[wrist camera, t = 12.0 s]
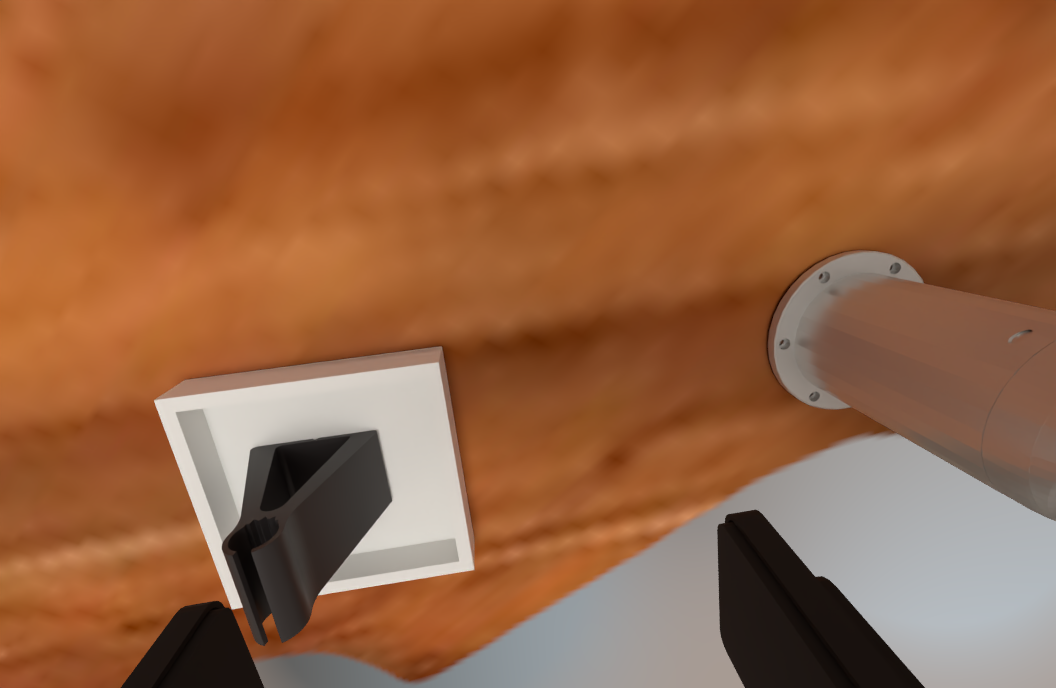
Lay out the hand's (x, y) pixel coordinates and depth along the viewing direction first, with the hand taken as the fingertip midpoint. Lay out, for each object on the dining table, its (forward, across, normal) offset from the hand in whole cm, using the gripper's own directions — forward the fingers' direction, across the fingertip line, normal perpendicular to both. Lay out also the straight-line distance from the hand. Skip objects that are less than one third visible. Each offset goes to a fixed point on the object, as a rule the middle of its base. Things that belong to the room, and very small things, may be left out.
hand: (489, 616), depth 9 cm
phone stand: (+26, +14, +10) cm, 31 cm away
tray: (+27, +13, +11) cm, 32 cm away
